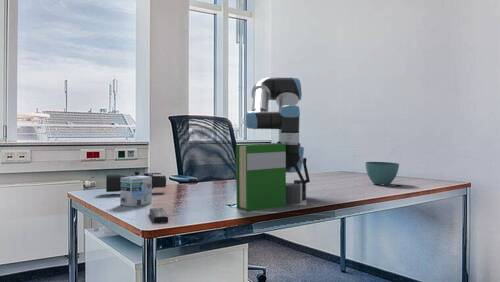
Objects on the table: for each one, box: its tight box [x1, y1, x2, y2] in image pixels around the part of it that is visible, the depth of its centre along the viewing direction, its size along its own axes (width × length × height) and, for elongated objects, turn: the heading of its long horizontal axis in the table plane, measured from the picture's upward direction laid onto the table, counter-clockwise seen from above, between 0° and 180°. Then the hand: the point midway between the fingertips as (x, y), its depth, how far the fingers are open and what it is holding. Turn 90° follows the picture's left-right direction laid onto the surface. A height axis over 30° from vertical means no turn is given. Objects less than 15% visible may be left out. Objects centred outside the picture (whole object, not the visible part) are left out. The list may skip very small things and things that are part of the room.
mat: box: [286, 199, 307, 206], centre depth 168 cm, size 12×16×1 cm
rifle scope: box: [105, 171, 167, 193], centre depth 186 cm, size 10×26×10 cm, turn 110°
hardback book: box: [235, 142, 287, 213], centre depth 153 cm, size 18×7×24 cm, turn 124°
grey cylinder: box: [286, 182, 300, 206], centre depth 164 cm, size 9×9×8 cm
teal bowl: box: [365, 161, 400, 186], centre depth 230 cm, size 18×18×12 cm
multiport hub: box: [149, 207, 169, 224], centre depth 134 cm, size 4×14×2 cm, turn 19°
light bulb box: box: [119, 174, 153, 208], centre depth 158 cm, size 11×7×11 cm, turn 148°
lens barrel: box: [293, 179, 307, 201], centre depth 172 cm, size 5×5×8 cm
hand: (288, 199), depth 164 cm, fingers closed on grey cylinder, 9 cm apart
